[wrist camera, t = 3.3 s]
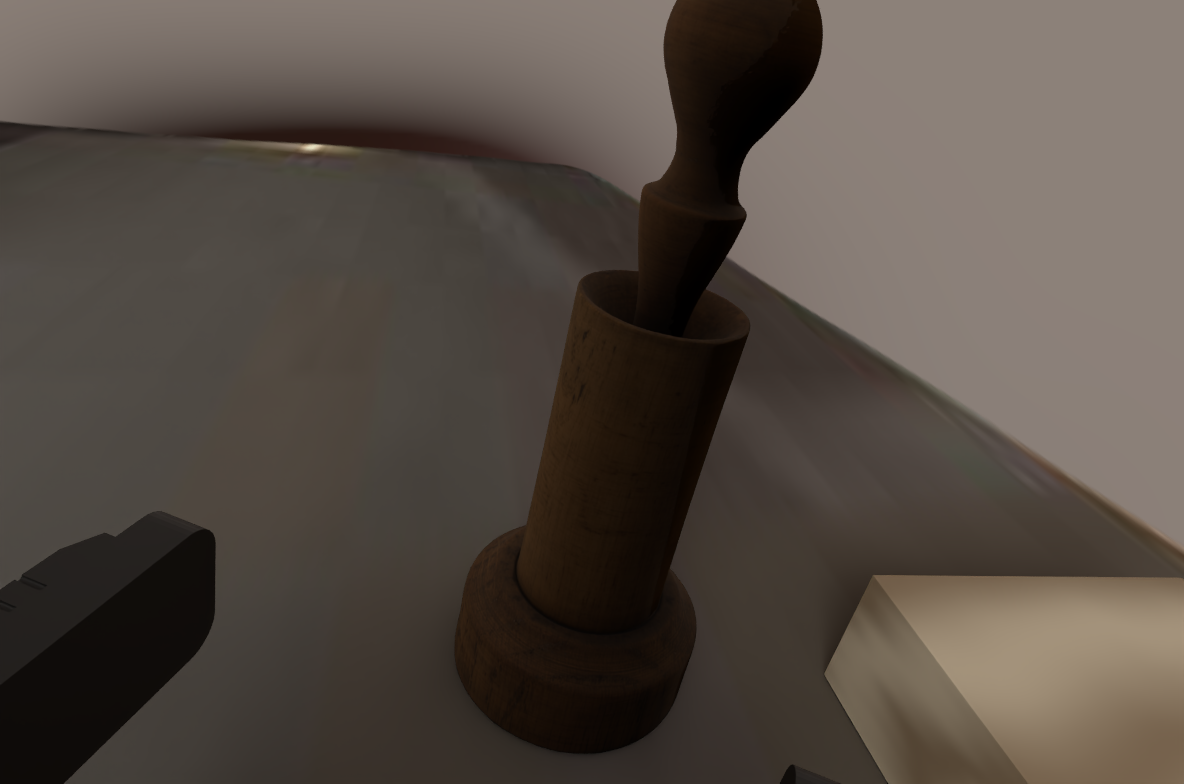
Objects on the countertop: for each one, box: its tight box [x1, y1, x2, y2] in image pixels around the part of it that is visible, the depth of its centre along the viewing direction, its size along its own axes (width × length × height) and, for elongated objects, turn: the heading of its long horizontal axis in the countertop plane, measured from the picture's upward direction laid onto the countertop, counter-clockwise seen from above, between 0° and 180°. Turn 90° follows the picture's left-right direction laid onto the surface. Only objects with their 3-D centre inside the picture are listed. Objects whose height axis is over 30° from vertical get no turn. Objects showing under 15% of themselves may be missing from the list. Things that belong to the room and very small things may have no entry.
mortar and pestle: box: [455, 0, 823, 754], centre depth 20 cm, size 7×6×18 cm
